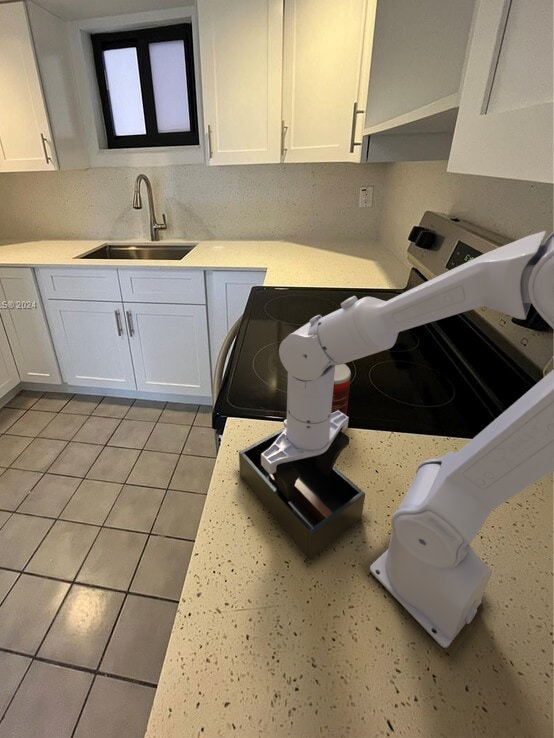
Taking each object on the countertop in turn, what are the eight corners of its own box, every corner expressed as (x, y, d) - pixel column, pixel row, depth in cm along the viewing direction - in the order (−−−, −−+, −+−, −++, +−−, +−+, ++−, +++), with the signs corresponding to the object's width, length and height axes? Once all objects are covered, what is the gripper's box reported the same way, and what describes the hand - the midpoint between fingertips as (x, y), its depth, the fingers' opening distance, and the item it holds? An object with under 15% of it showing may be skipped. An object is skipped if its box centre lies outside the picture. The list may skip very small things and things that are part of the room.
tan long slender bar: (340, 521, 50) (342, 510, 49) (320, 537, 48) (321, 526, 47) (282, 462, 60) (282, 453, 59) (263, 474, 58) (263, 464, 57)
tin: (361, 518, 51) (365, 493, 49) (310, 560, 46) (312, 534, 44) (286, 447, 63) (287, 425, 61) (239, 474, 58) (238, 452, 56)
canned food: (315, 398, 76) (318, 353, 71) (352, 413, 71) (357, 366, 66) (297, 417, 70) (300, 371, 66) (336, 435, 65) (341, 386, 61)
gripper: (324, 375, 53) (319, 444, 58) (246, 413, 46) (248, 488, 51) (364, 399, 47) (354, 473, 53) (281, 447, 40) (280, 526, 46)
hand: (304, 483), depth 52 cm, fingers open, 7 cm apart
